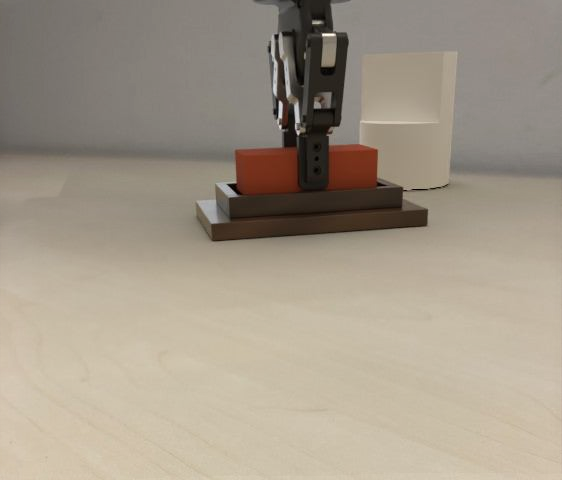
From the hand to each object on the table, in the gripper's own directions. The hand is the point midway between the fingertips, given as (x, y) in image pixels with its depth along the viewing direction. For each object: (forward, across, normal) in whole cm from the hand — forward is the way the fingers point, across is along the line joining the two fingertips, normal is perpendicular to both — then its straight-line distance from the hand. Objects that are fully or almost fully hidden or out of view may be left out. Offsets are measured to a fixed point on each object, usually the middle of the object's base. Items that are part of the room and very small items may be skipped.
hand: (304, 183), depth 54 cm
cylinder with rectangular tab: (+3, -15, +14) cm, 21 cm away
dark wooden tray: (+3, 0, 0) cm, 3 cm away
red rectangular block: (0, 0, 0) cm, 0 cm away
